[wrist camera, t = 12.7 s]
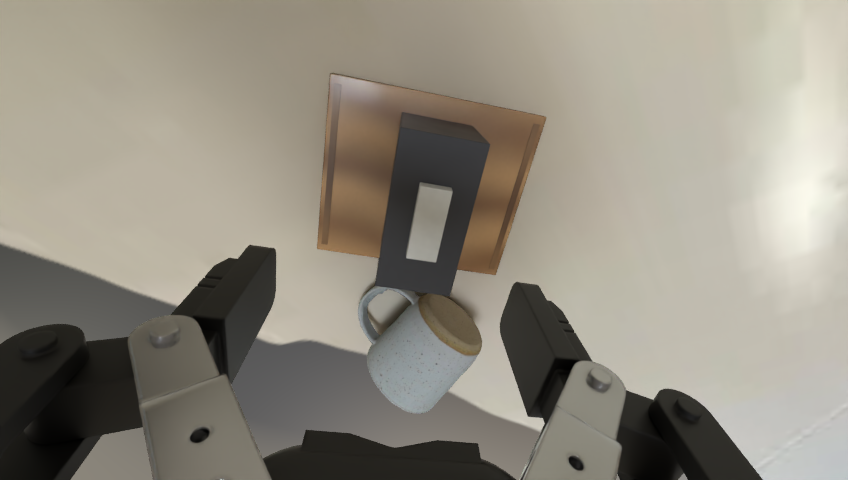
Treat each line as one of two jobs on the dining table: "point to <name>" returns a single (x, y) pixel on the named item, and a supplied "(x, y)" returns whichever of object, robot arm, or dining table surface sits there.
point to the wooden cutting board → (374, 158)
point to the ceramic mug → (420, 349)
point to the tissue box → (429, 203)
